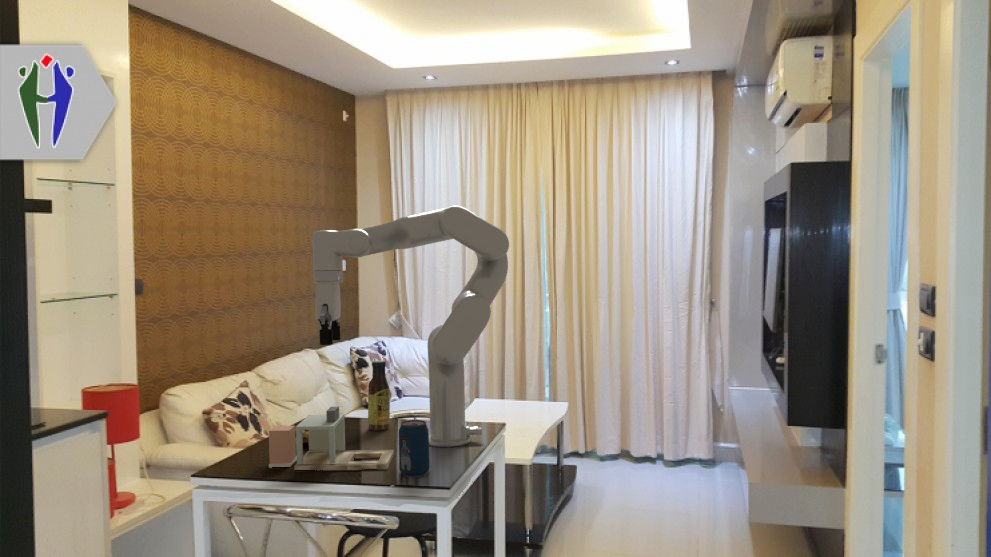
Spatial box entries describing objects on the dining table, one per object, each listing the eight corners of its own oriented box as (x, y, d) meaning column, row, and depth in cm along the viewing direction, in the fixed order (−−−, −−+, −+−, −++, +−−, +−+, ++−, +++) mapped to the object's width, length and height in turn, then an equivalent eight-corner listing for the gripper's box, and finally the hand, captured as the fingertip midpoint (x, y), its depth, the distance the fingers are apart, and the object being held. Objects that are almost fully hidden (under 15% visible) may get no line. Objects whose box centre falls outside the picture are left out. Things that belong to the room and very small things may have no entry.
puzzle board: (394, 454, 191) (394, 449, 191) (386, 469, 178) (386, 464, 178) (307, 456, 191) (307, 451, 191) (294, 471, 178) (294, 465, 178)
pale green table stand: (345, 449, 191) (344, 403, 191) (334, 463, 178) (333, 414, 178) (310, 449, 191) (308, 403, 191) (296, 464, 178) (295, 415, 178)
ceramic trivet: (297, 459, 188) (296, 456, 188) (289, 467, 181) (289, 464, 181) (277, 459, 188) (277, 456, 188) (268, 467, 181) (268, 464, 181)
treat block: (295, 457, 187) (294, 425, 187) (290, 463, 182) (289, 430, 182) (275, 457, 187) (274, 425, 187) (269, 463, 182) (268, 430, 182)
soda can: (430, 469, 178) (429, 419, 178) (428, 478, 171) (427, 425, 171) (401, 469, 178) (400, 419, 177) (398, 478, 171) (396, 426, 170)
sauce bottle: (380, 432, 215) (378, 363, 214) (363, 430, 218) (362, 362, 218) (395, 427, 220) (393, 360, 220) (379, 425, 224) (377, 359, 223)
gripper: (321, 276, 205) (323, 338, 206) (305, 279, 188) (308, 347, 189) (348, 276, 205) (350, 338, 206) (335, 278, 188) (338, 346, 189)
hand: (330, 342), depth 197 cm, fingers open, 9 cm apart
